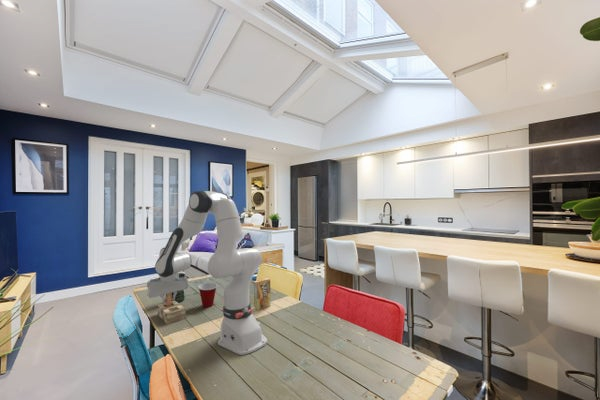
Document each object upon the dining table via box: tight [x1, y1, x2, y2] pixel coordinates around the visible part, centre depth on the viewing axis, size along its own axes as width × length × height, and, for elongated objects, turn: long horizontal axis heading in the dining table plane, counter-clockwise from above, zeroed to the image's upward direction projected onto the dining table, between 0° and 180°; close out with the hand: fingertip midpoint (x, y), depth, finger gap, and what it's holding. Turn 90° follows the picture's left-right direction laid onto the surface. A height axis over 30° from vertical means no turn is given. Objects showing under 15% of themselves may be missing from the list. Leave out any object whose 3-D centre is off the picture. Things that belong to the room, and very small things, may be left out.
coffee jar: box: [172, 270, 185, 303], centre depth 157 cm, size 10×8×19 cm
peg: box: [165, 293, 172, 307], centre depth 140 cm, size 3×3×12 cm
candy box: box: [253, 278, 271, 311], centre depth 147 cm, size 9×4×15 cm, turn 129°
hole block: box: [157, 301, 187, 325], centre depth 137 cm, size 16×9×5 cm, turn 45°
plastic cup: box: [197, 282, 218, 308], centre depth 150 cm, size 11×11×12 cm
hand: (168, 301), depth 140 cm, fingers closed on peg, 3 cm apart
